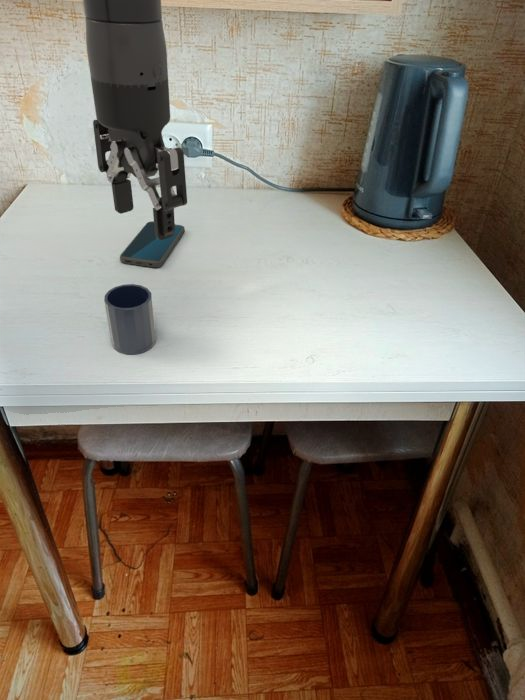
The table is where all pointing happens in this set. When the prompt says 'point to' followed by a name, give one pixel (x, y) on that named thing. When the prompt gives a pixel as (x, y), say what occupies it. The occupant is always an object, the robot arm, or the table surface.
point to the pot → (130, 318)
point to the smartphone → (150, 247)
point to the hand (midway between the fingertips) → (144, 223)
